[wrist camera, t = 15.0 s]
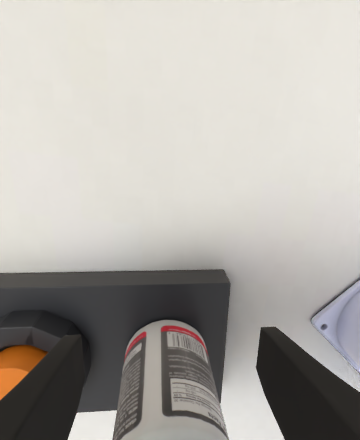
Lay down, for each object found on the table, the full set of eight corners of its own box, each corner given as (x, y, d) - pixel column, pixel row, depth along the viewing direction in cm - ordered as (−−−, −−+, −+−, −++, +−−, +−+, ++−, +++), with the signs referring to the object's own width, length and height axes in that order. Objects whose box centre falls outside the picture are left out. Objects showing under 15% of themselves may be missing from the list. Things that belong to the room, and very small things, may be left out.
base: (223, 269, 19) (238, 297, 15) (215, 381, 21) (226, 426, 18) (-17, 273, 17) (-60, 305, 14) (7, 393, 20) (-24, 443, 17)
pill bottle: (146, 393, 19) (134, 645, 9) (111, 335, 17) (55, 567, 8) (217, 364, 18) (278, 592, 9) (188, 304, 17) (226, 502, 8)
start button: (57, 342, 16) (45, 366, 14) (64, 395, 17) (53, 424, 15) (-15, 345, 15) (-36, 370, 14) (-3, 399, 16) (-21, 428, 15)
